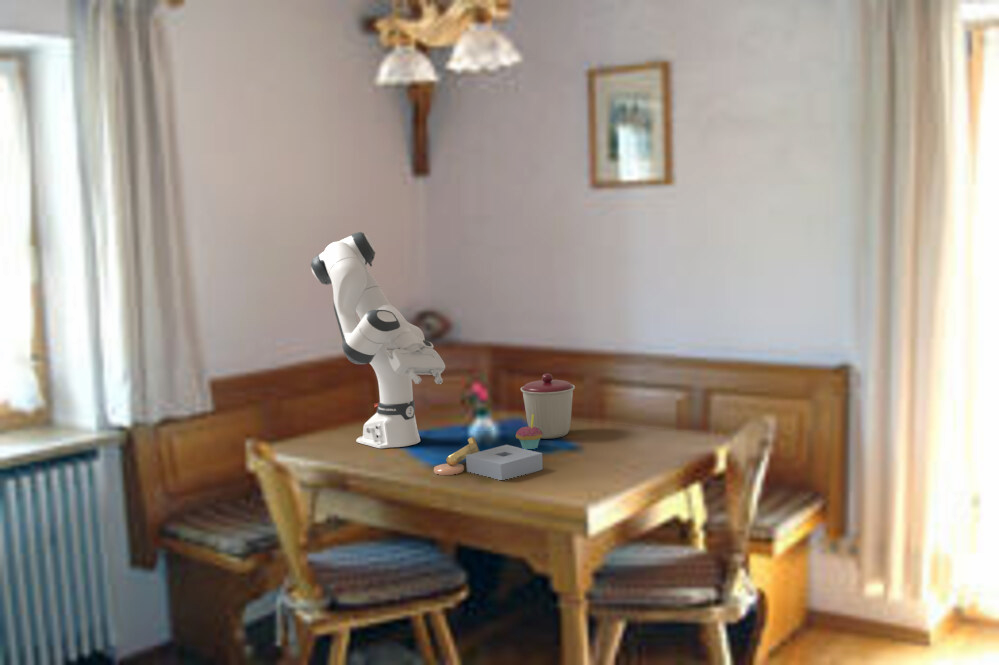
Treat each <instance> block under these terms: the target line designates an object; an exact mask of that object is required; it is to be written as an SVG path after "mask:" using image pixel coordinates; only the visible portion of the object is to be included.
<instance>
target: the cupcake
mask: <svg viewBox="0 0 999 665" xmlns="http://www.w3.org/2000/svg"><path fill="white" fill-rule="evenodd" d="M533 420H534V412H533V414H532V420H531V426H528V425H527V426H526V425H525V426H522V427H519V429H518V430H517V431H516V434H515V438H516V439H517V440H518V441H519V443H520V444H521V448H524V449H534V448H537V449H538V447H539V442H540V440H541V439H543V438H542V434H543V433H542V431H541V430H540V429H539V428H537V427H534V426H533ZM534 450H535V449H534Z"/></svg>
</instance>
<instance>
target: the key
mask: <svg viewBox="0 0 999 665" xmlns="http://www.w3.org/2000/svg"><path fill="white" fill-rule="evenodd" d="M467 442H468V444H467V445H465V446H464V447H463V446H462V448H460V449H459V450H457V451H454V452H453V453H452V454H450V455H448V456H447V457H446V460H445V461H446V464H448V465H449V466H454V465H456V464H460V462H462V461H464V460H466V455H469V454H473V453H477V452H480V449H479V446H478V443H477V441H476V438H475V436H471V437H469V438H468V439H467Z"/></svg>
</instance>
